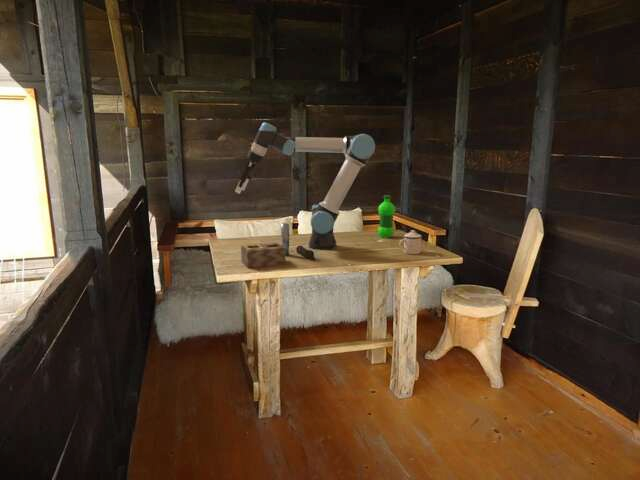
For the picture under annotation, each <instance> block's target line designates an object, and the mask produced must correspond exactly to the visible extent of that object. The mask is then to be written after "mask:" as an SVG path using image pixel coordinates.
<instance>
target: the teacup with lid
mask: <svg viewBox="0 0 640 480" xmlns="http://www.w3.org/2000/svg"><path fill="white" fill-rule="evenodd" d="M422 238H423V237H422V235H421V234H419V233H418V232H416V230H414V229H413V230H410V231H409V232H408V233H405V234H404V235H403V238H402V239H400V241H399V248H401V249H403V253H404V254H407V255H419V254H421V248H422ZM402 242H403V246H402Z"/></svg>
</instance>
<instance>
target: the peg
mask: <svg viewBox="0 0 640 480" xmlns="http://www.w3.org/2000/svg"><path fill="white" fill-rule="evenodd" d="M280 229H281V230H280V231H281V232H280V233H281V234H280V237H281V239H280V240H281V241H280V242H281V243H280V245H282V246H283V247H285V257H288V256H290V223H288V222H282V223H281V224H280Z"/></svg>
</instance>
